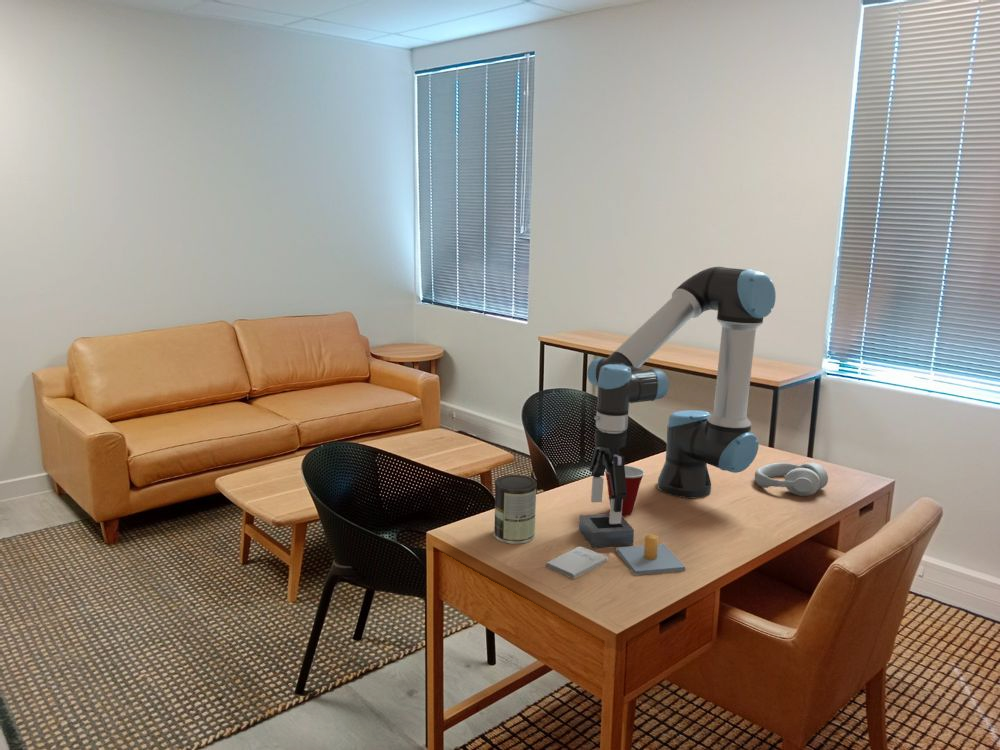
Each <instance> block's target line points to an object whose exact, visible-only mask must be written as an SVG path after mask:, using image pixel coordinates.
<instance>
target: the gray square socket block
mask: <svg viewBox="0 0 1000 750" xmlns="http://www.w3.org/2000/svg"><path fill="white" fill-rule="evenodd" d="M578 517H579V520H578V531H579V532H580V534H581V535H582V537H583V538H584V539H585V541H586V542H587V544H588V545H589V547H591V549H598V548H599V549H600V548H613V547H614V548H615V547H629V546H634V537H635V536H634V535H635V529H634V528H633V527H632V526H631V524H630V523H629V522H628V521H627V520H626V519H625V518H624V517H623V516H621V523H620V524H610V523H609V517H610V512H609V513H597V514H581V515H579V516H578Z"/></svg>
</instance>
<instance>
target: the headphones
mask: <svg viewBox="0 0 1000 750" xmlns="http://www.w3.org/2000/svg"><path fill="white" fill-rule="evenodd" d="M771 477H772V478H771ZM773 477H784V480H779V479H774V478H773ZM754 481H755V483H756V484H757V486H759V488H760V487H761V488H763V489H769V488H770V487H775V488H776V487H780V488H786V489H787V491H788V492H790V493H791V494H793V495H796V496H800V497H806V496H811V495H814V494H815V493H816V492H818V490H820V489H823V488H825V487H826V486H827V484H828V482H829V477H828V473H827V471H826V469H825V468H824V467H823V466H822V465H821V464H819V463H818V462H817V463H816V462H807V463H803V464H798V465H797V464H795V463H791V462H781V461H780V462H776V463H775V462H774V463H769V464H766V465H765V464H764V465H762V466H760V467H759V468H757V469H756V470H755V472H754Z"/></svg>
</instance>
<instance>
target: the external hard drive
mask: <svg viewBox="0 0 1000 750" xmlns="http://www.w3.org/2000/svg"><path fill="white" fill-rule="evenodd" d="M607 561H608V556H606V555H603V554H601V553H599V552H596V551H593V550H591V549H588V548H586V547H583V546H577V547H575V548H574V549H571V550H569V551H567V552H565V553H563V554H561V555H560V556H556V557H555V558H552V559H551V560H549V561H547V562H545V568H548V569H551V571H552V570H553V571H555V572H557V573H560V574H561V575H563V576H566V577H568V578H571V579H573V580H574V579H576V578H579V577H580V576H582V575H584V574H586V573H588V572H590V571H591V570H593V569H595V568H597V567H598V566H600V565H603V564H604V563H606V562H607Z"/></svg>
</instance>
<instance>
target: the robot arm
mask: <svg viewBox="0 0 1000 750" xmlns="http://www.w3.org/2000/svg"><path fill="white" fill-rule="evenodd" d="M776 295H777V294H776V288H775V285H774V283H773V281H772V280H771V278H770V277H769V275H768V274H766V273H764V272H762V271H758V270H754V269H745V268H743V269H742V268H732V267H724V266H713V267H709V268H706V269H703V270H701V271H699V272H696V273H695V274H694V275H692V276H690V277H689V278H688V279H686V280H684V281H683V282H682V283H681V284H680V285H679V286H677V287H676V288H675V289H674V290H673V291H672V293H671V298H670V299H669V300H668V301H666V302H665V303H664V304H663V306H662V307H660V308H659V309H658V310H657V311H656V312H655V313H653V315H652V316H650V318H648V319H647V320H646V321H645V323H643V324H641V326H640V327H639V328H638V329H637V330H635V332H633V333H632V334H631V335H630V336H629V337H628V338H627V339H626V340H625V341H624V342H623V343H622V344H621V345H620V346H619V347H617V348H616V349H615V350H614V351H613V353H611V354H609V356H608V357H607V358H604V357H599V358H595V359H592V361H591V362H589V365H588V367H587V371H586V376H587V380H588V381H589V383H590V384H592V385H593V386H595V387H597V400H596V415H595V416H594V420H595V427H596V429H595V431H594V444H595V447H594V452H593V453H592V454H593V455H592V457H591V461H590V464H589V465H590V466H589V472H590V473H591V476H592V478H591V479H592V480H591V481H592V482H591V494H590V495H591V496H590V502H591V503H592V504H594V503H602V502H603V495H604V494H603V492H604V480H605V479H604V477H605V476H606V473H605V469H606V471H607V472H608V473H609V478H610V484H611V489H612V495H613V496H611V497H610V499H611V503H610V502H609V513H610V517H609V523H610V524H620V523H621V516H622V503H623V499H627V488H626V478H625V467H624V465H625V458H626V457H625V456H624V455H622V456H621V454H620V449H622V448H624V447H625V446H626V444H627V437H628V435H627V434H628V432H627V430H628V425H629V424H628V423H629V408H630V404H634V403H643V402H653V401H656V400H659V399H663V398H664V397H666V396H667V394H668V392H669V387H670V386H669V385H670V382H669V381H670V380H669V378H668V375H667V374H666V373H665V372H664V371H663V370H661V369H659V368H658V369H657V368H654V369H653V368H650V369H642V368H640V367H641V366H642V365H644V364H645V363H646V362H647V361H649V360H648V359H650V358H651V357H652V356H653V355H654V354H655V353H656V352H657V351H658V350H659V349H660V348H661V347H662V346H663V345H664V344H666V343H667V342H668V340H670V339H671V338H672V337H673V336H674V335H676V334H677V332H678V331H679V330H680V329H682V328H683V326H685V325H686V324H687V323H688V322H689V321H690V320H691V319H696V318H698V317H699V316H700V315H702V314H703V313H704V312H707V311H717V313H716V314H717V315H716V321H717V322H718V323H719V324H720V325H721V333H720V335H721V336H720V344H719V353H718V361H717V362H718V364H717V365H718V366H717V373H716V383H715V384H716V385H715V392H714V393H715V394H714V404H713V413H710V412H708V411H705V410H694V409H693V410H691V409H690V410H689V409H688V410H679V411H675V412H673V413H671V414H670V415H669V417H668V423H667V427H666V428H667V430H666V432H667V433H666V449H665V462H664V464H663V466H662V468H661V471H660V473H659V476H658V477H657V488H658V489H659V490H660V491H661V492H663V493H665V494H668V495H669V496H674V497H677V498H686V499H690V498H691V499H693V498H694V499H696V498H702V497H706V496H708V495H710V494H711V491H712V481H711V478H710V473H709V469H708V465H709V466H713V467H714V468H718V469H719V470H721V471H726V472H730V473H733V474H735V473H736V474H737V473H741V472H743V471H745V470H747V469H748V468H749V467H750V465H751V464H752V463H753V462H754V461H755V458H756V457H757V455H758V451H759V445H760V444H759V443H760V442H759V439H758V437H757V436H756V435H755V434H754V433H753V432H751V429H752V422H751V421H750V420H749V418H748V417H747V412H748V406H749V405H748V404H749V396H750V395H749V393H750V386H751V379H752V378H751V376H752V369H753V368H752V367H753V359H754V357H753V356H754V348H755V340H756V331H757V328H759V327H760V326H761V325H762V324H763V323H764V318H766V317H767V316H768V317H769V315H770V314H771V313H772V310H773V309H774V307H775V304H776ZM622 517H623V516H622Z"/></svg>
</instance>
